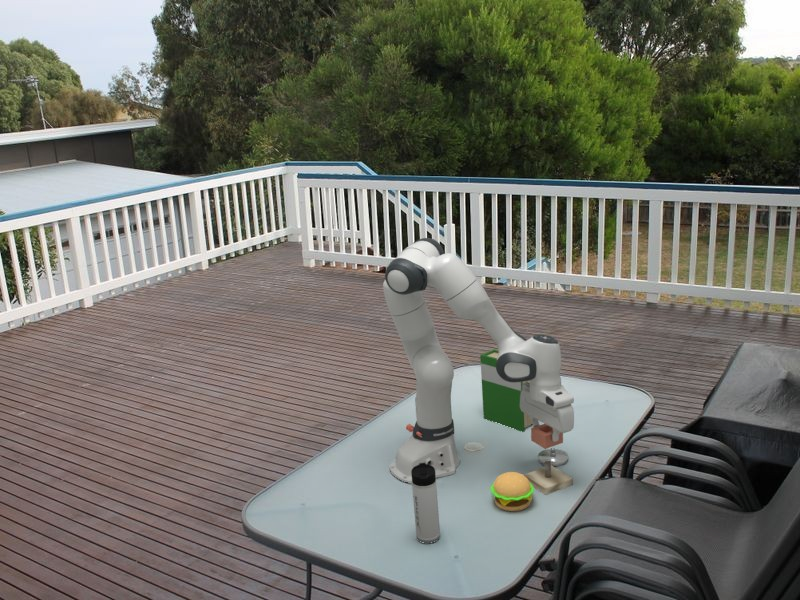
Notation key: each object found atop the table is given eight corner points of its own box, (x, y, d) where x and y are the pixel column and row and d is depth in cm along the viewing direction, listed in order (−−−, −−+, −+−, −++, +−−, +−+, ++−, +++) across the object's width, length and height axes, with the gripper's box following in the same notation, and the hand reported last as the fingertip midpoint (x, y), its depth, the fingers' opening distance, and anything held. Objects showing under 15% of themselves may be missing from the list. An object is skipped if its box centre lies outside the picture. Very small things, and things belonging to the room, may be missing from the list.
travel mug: (439, 529, 198) (434, 461, 193) (441, 543, 192) (436, 473, 186) (415, 531, 198) (410, 463, 193) (417, 545, 192) (411, 475, 186)
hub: (551, 469, 224) (550, 458, 223) (532, 458, 232) (532, 447, 231) (574, 461, 228) (573, 449, 227) (555, 450, 236) (554, 439, 235)
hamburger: (541, 510, 203) (540, 481, 201) (499, 517, 201) (497, 489, 199) (525, 489, 215) (524, 462, 212) (485, 496, 212) (484, 469, 210)
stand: (545, 494, 210) (544, 474, 209) (524, 480, 219) (523, 460, 217) (572, 484, 215) (572, 464, 213) (550, 470, 223) (550, 451, 222)
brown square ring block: (545, 448, 210) (545, 436, 209) (531, 440, 215) (531, 428, 214) (563, 442, 213) (562, 430, 212) (548, 434, 218) (548, 422, 217)
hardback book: (536, 424, 255) (534, 359, 249) (522, 432, 250) (520, 365, 244) (497, 411, 268) (494, 349, 262) (483, 418, 263) (480, 355, 257)
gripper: (514, 382, 217) (514, 425, 221) (560, 404, 200) (560, 451, 203) (531, 377, 220) (531, 420, 224) (578, 399, 203) (577, 445, 206)
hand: (545, 435), depth 213 cm, fingers closed on brown square ring block, 6 cm apart
